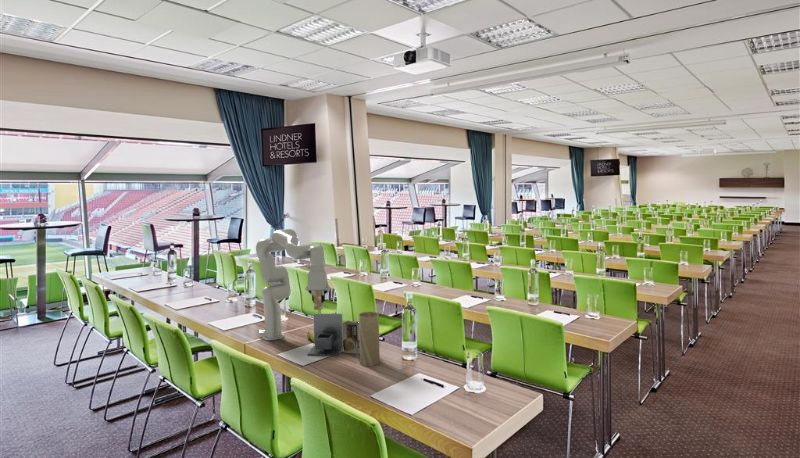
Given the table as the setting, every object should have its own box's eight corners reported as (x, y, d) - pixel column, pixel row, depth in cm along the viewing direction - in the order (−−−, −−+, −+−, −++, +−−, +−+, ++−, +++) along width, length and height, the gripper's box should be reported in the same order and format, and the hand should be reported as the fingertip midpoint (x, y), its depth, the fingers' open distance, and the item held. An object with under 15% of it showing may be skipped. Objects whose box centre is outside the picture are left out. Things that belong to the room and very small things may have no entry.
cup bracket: (307, 355, 255) (306, 320, 254) (315, 345, 271) (314, 313, 269) (336, 356, 253) (335, 321, 252) (343, 346, 269) (342, 313, 268)
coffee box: (362, 350, 262) (362, 321, 261) (358, 354, 256) (357, 324, 255) (347, 348, 265) (347, 320, 264) (342, 352, 259) (341, 323, 258)
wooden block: (314, 309, 257) (313, 284, 256) (316, 307, 261) (315, 282, 259) (321, 309, 256) (320, 283, 255) (323, 308, 260) (322, 282, 259)
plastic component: (315, 340, 274) (307, 329, 281) (313, 350, 277) (306, 339, 284) (344, 331, 286) (336, 321, 292) (343, 340, 289) (335, 330, 296)
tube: (366, 367, 237) (365, 318, 235) (356, 361, 245) (355, 314, 243) (383, 363, 243) (382, 314, 240) (372, 357, 251) (371, 310, 249)
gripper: (300, 269, 254) (301, 303, 255) (330, 269, 252) (332, 303, 253) (304, 267, 261) (305, 300, 263) (334, 267, 259) (335, 300, 261)
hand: (318, 301), depth 258 cm, fingers closed on wooden block, 4 cm apart
